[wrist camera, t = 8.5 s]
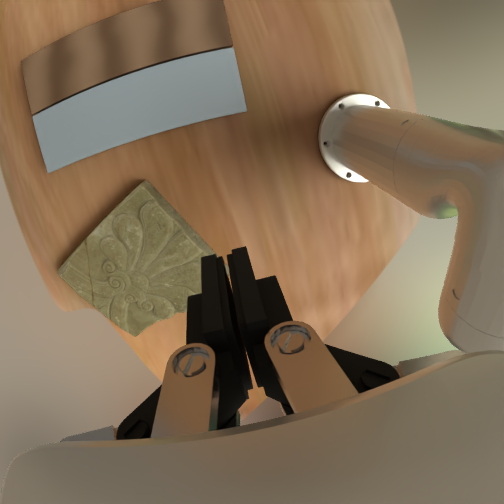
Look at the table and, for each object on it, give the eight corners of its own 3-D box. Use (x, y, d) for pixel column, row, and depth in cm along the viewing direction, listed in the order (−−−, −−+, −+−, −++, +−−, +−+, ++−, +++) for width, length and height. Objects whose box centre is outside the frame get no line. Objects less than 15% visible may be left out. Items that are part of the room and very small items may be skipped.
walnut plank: (219, -7, 27) (220, -13, 25) (231, 48, 31) (233, 45, 29) (29, 61, 26) (20, 61, 24) (39, 113, 30) (31, 114, 28)
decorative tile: (61, 263, 41) (52, 276, 38) (145, 176, 37) (140, 183, 34) (144, 334, 50) (141, 348, 47) (233, 269, 46) (236, 282, 43)
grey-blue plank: (232, 50, 31) (233, 47, 29) (244, 110, 34) (247, 111, 33) (39, 115, 30) (32, 116, 28) (54, 170, 33) (48, 173, 32)
